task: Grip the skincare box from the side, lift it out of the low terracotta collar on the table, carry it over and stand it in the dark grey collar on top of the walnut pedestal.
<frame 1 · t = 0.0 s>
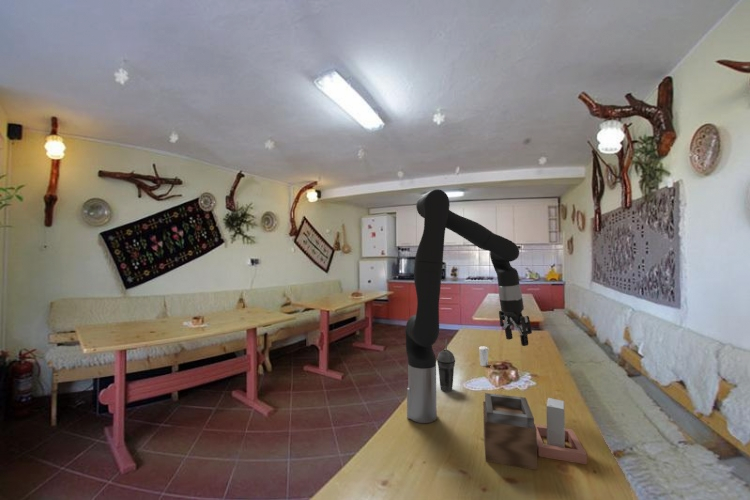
hand: (517, 342, 111), 22 cm above the table, tool pointing down, fingers open, 8 cm apart
skincare box: (556, 447, 86), on the table
walnut pedestal: (508, 451, 84), on the table
beverage cup: (446, 389, 124), on the table
lower collar: (556, 446, 86), on the table
milkshake: (484, 365, 152), on the table
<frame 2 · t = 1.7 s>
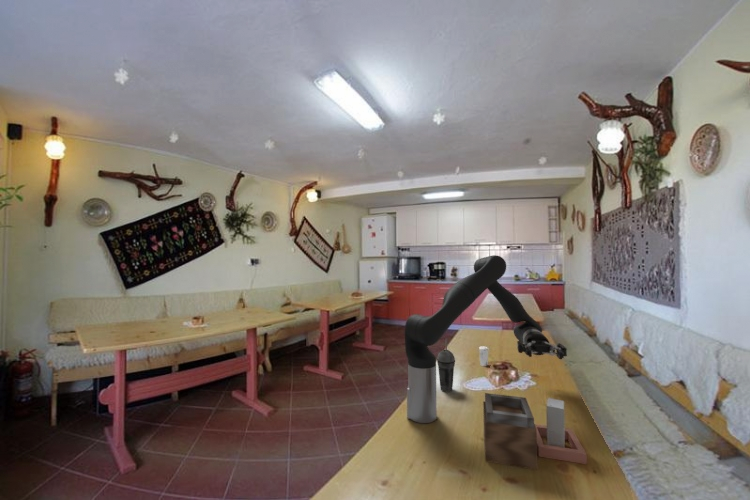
hand: (545, 354, 97), 22 cm above the table, tool horizontal, fingers open, 8 cm apart
nothing on the table moved.
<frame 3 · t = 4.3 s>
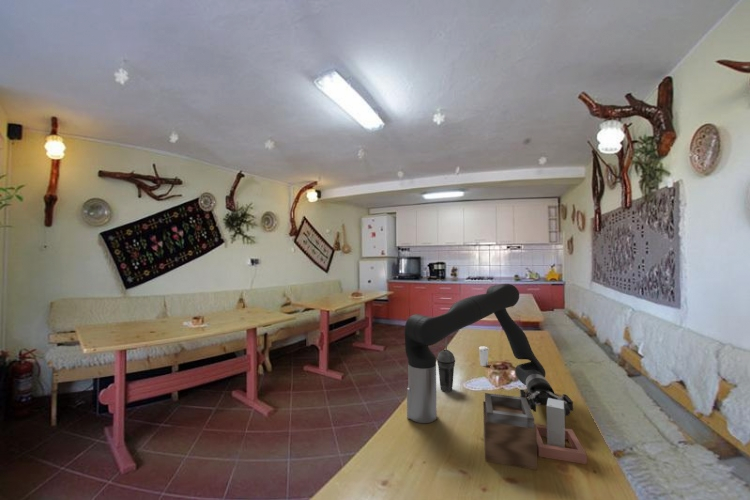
hand: (550, 410, 91), 7 cm above the table, tool horizontal, fingers open, 8 cm apart
nothing on the table moved.
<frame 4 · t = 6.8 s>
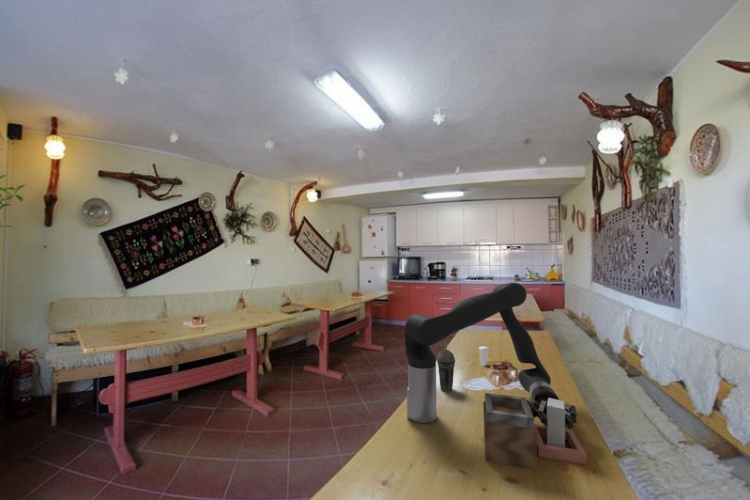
hand: (558, 423, 84), 8 cm above the table, tool horizontal, fingers closed on skincare box, 5 cm apart
skincare box: (556, 447, 86), on the table, touching gripper
everything else where it was.
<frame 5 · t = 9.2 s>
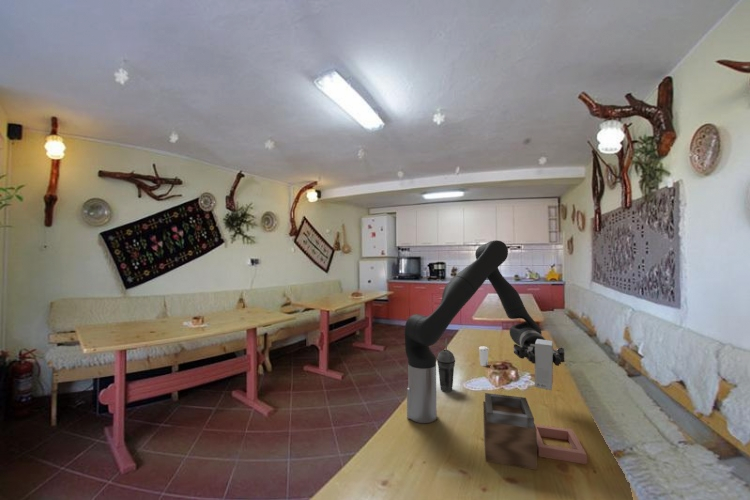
hand: (545, 360, 84), 25 cm above the table, tool horizontal, fingers closed on skincare box, 5 cm apart
skincare box: (544, 386, 86), point 17 cm above the table, touching gripper
everything else where it was.
when the fingers open (19 cm above the table, at t = 12.0 s): skincare box drops 1 cm, resting on walnut pedestal.
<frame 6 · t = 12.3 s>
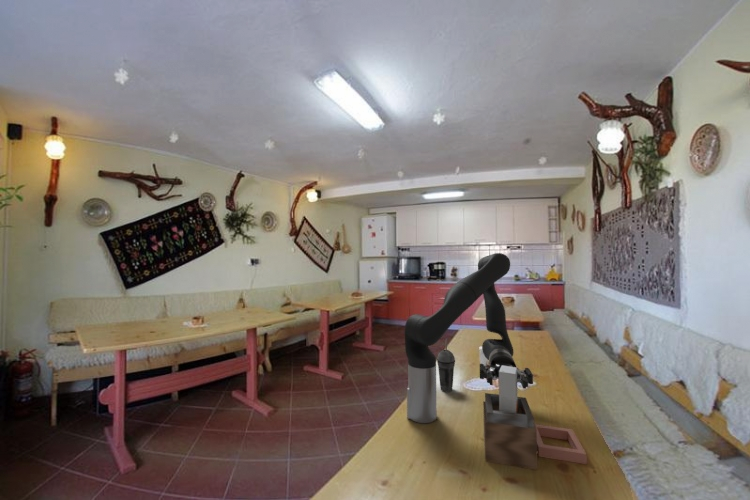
hand: (507, 383, 83), 19 cm above the table, tool horizontal, fingers open, 8 cm apart
skincare box: (508, 414, 84), point 10 cm above the table, touching walnut pedestal
everything else where it was.
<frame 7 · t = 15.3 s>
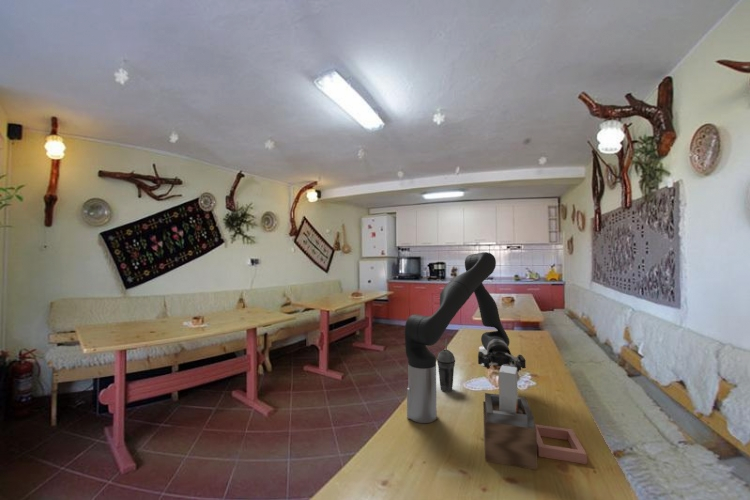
hand: (502, 367, 95), 19 cm above the table, tool horizontal, fingers open, 8 cm apart
nothing on the table moved.
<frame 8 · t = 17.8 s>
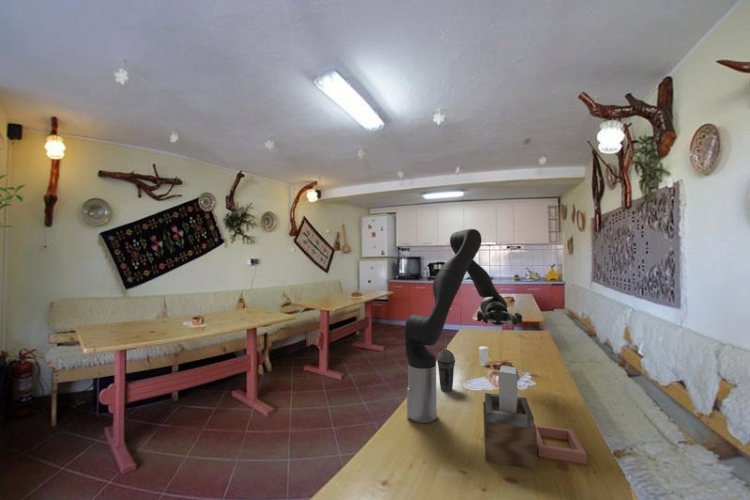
hand: (500, 321, 100), 32 cm above the table, tool horizontal, fingers open, 8 cm apart
nothing on the table moved.
at the end: skincare box 0.4 cm off-centre on the walnut pedestal, point 9.8 cm above the walnut pedestal's base; skincare box tilted 0°; the gripper is holding nothing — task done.
